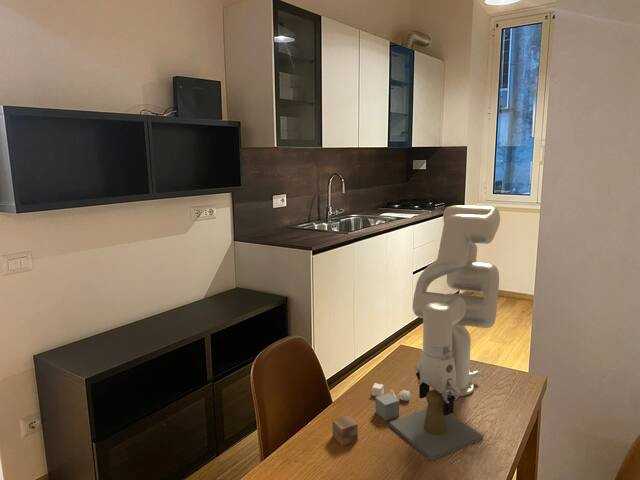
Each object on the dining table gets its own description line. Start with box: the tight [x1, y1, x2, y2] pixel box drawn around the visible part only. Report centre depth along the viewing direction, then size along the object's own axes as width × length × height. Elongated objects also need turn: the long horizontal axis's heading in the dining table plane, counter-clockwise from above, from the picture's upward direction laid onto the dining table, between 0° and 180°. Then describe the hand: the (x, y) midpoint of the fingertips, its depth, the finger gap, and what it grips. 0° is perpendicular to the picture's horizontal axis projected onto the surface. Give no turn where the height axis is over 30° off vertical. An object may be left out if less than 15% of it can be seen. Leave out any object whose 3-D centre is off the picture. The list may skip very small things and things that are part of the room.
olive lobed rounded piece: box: [424, 389, 446, 435], centre depth 133 cm, size 6×6×11 cm
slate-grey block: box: [374, 392, 400, 421], centre depth 144 cm, size 5×5×5 cm
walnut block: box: [332, 414, 359, 447], centre depth 132 cm, size 5×5×5 cm
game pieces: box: [371, 382, 412, 402], centre depth 153 cm, size 12×3×3 cm, turn 65°
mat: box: [388, 408, 484, 461], centre depth 135 cm, size 18×18×1 cm
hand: (435, 405), depth 134 cm, fingers open, 9 cm apart
